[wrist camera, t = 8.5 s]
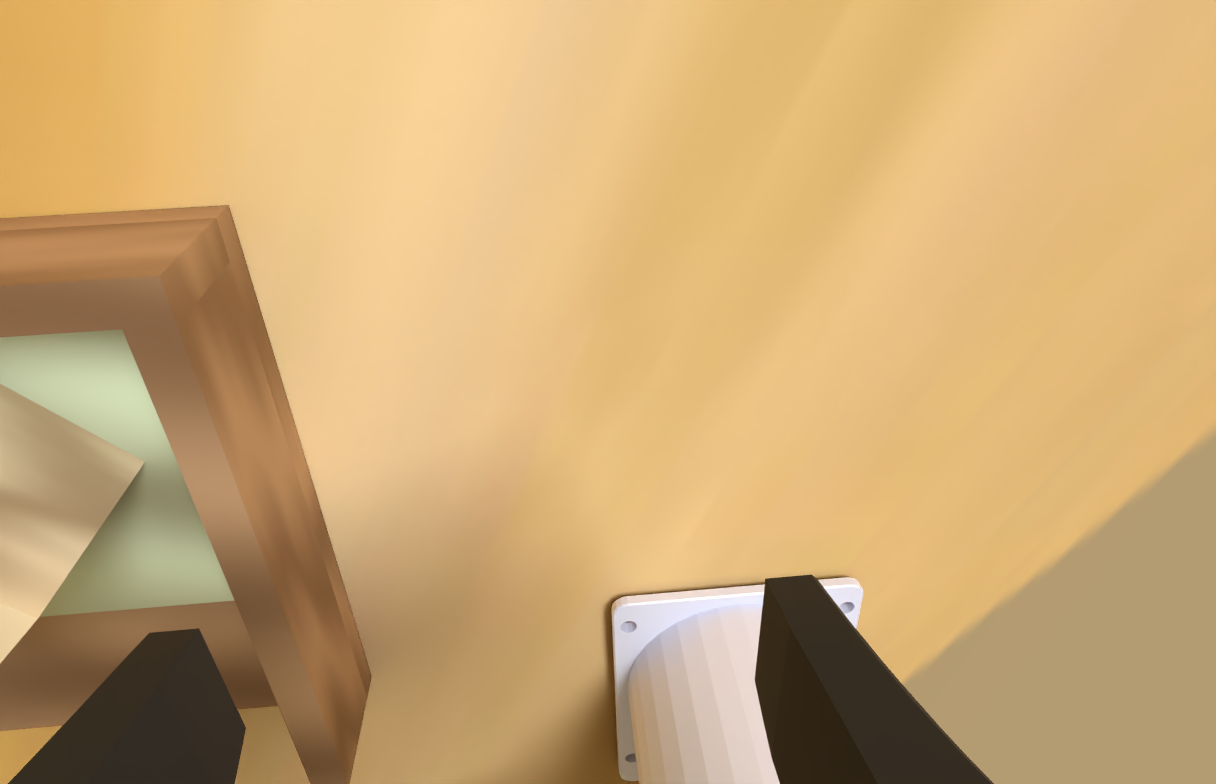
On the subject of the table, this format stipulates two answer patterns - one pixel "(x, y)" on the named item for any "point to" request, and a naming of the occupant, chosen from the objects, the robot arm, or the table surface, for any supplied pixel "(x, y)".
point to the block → (48, 505)
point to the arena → (177, 475)
